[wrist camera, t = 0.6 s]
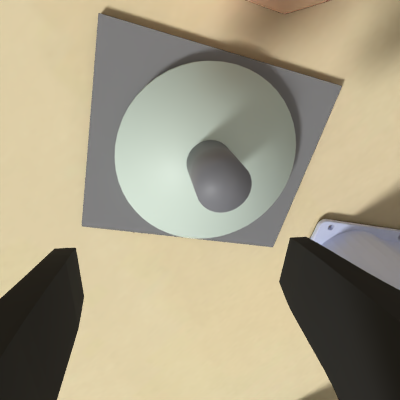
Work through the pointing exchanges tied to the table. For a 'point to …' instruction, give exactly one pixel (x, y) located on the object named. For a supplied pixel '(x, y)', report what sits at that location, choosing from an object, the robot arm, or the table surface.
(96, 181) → the mat
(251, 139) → the lid
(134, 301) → the table surface
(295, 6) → the bowl
